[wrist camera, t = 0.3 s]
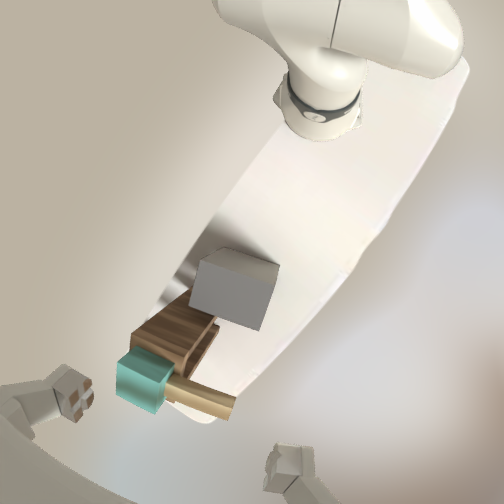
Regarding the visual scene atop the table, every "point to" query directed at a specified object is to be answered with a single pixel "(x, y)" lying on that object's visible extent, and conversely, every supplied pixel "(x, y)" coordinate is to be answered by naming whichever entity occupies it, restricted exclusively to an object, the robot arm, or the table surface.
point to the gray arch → (234, 287)
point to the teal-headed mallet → (165, 385)
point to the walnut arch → (178, 335)
